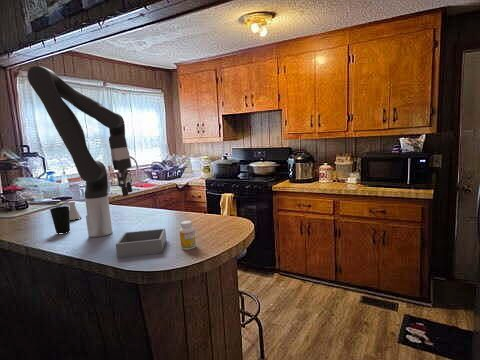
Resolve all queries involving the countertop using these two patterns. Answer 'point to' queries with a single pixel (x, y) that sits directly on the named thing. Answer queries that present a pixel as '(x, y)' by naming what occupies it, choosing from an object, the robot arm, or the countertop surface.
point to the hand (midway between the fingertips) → (127, 193)
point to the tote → (141, 243)
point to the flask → (73, 212)
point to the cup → (61, 219)
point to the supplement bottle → (187, 235)
